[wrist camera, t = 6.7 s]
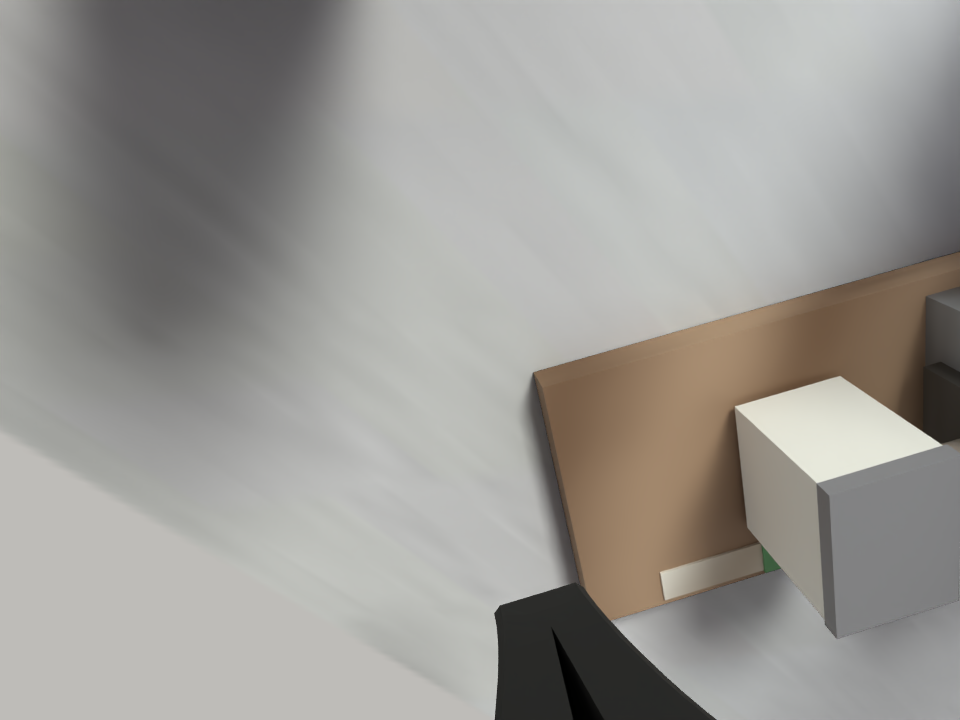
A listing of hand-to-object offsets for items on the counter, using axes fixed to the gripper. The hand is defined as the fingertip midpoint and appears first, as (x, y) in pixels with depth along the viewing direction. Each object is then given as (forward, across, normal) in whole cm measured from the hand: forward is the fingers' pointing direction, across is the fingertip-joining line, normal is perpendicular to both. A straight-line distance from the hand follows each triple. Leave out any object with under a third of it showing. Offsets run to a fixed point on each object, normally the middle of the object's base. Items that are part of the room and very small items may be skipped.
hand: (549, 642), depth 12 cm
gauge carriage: (+8, -8, +5) cm, 13 cm away
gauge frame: (+9, -10, +4) cm, 14 cm away
